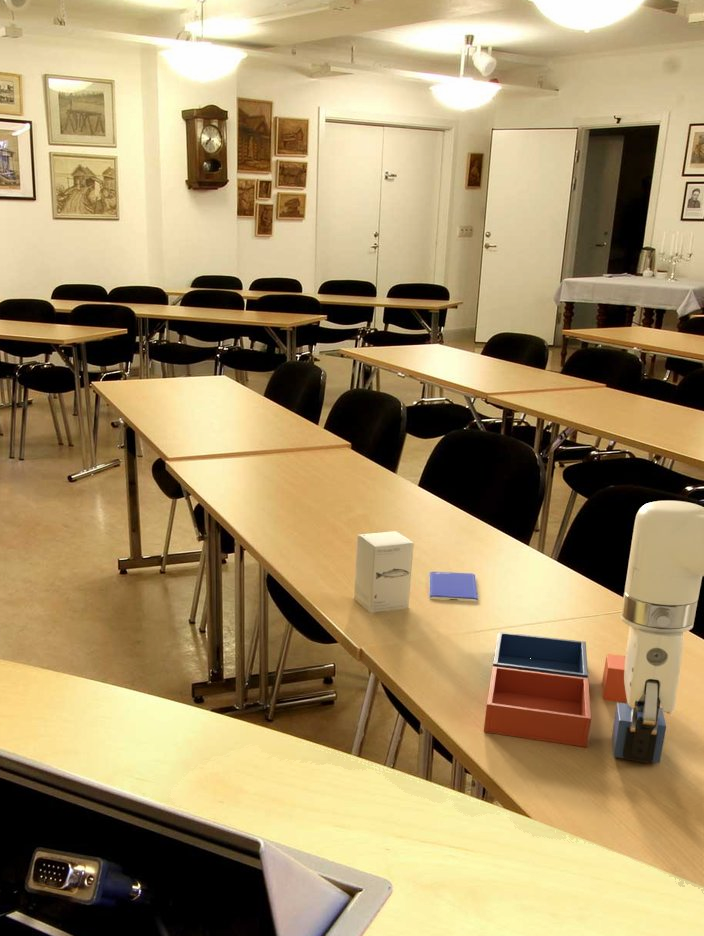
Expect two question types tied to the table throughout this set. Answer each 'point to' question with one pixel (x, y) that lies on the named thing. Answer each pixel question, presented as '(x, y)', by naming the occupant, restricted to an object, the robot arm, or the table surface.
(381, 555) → the white packaging box
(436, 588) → the hard drive
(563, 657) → the blue bin
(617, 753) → the blue block
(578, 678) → the rust bin
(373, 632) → the table surface
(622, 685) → the rust block
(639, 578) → the robot arm
